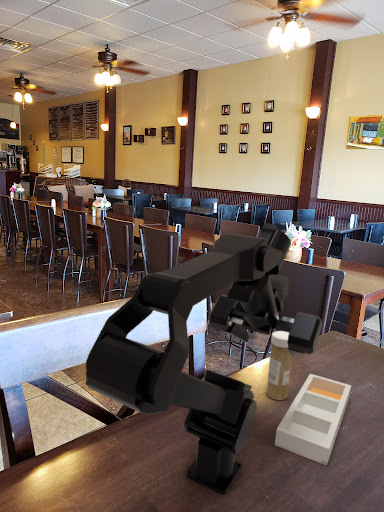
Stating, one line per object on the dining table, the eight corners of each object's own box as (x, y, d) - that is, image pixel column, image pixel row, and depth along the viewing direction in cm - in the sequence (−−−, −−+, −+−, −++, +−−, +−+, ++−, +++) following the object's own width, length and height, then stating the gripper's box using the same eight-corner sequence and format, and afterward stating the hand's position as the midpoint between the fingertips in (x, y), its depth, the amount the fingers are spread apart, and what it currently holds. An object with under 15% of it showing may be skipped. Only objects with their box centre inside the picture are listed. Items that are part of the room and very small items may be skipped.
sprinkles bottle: (291, 400, 80) (298, 339, 77) (269, 401, 79) (276, 339, 76) (283, 388, 84) (289, 330, 81) (262, 389, 83) (268, 330, 81)
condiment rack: (326, 465, 62) (329, 448, 61) (274, 445, 66) (276, 429, 65) (349, 397, 82) (351, 384, 82) (308, 385, 86) (310, 372, 86)
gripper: (328, 268, 62) (332, 323, 72) (223, 251, 71) (240, 302, 82) (308, 326, 56) (315, 376, 66) (196, 299, 65) (219, 347, 76)
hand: (270, 346), depth 73 cm, fingers open, 9 cm apart
